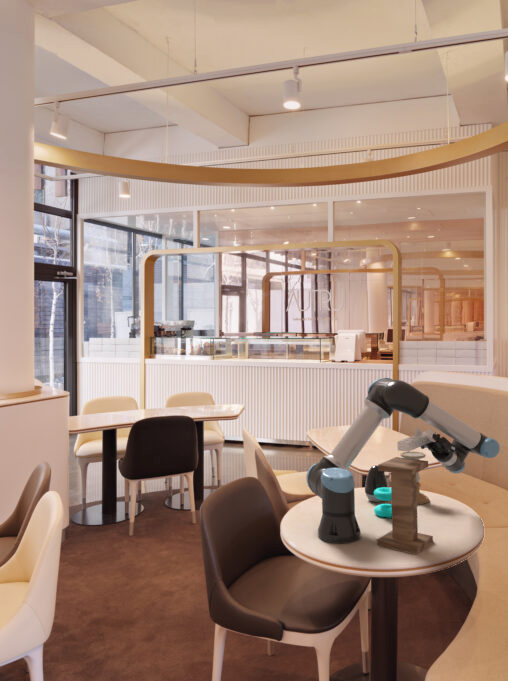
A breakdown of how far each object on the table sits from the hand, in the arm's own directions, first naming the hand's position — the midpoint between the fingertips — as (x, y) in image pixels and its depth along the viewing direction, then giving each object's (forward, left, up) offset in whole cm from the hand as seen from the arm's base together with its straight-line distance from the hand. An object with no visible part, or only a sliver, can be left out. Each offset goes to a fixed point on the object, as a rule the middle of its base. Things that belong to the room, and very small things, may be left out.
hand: (422, 431), depth 210 cm
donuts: (-2, +21, -37) cm, 42 cm away
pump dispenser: (+5, +39, -37) cm, 54 cm away
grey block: (-4, -2, -4) cm, 6 cm away
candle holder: (+19, +32, -37) cm, 52 cm away
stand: (-14, -8, -36) cm, 40 cm away
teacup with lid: (+13, +48, -37) cm, 62 cm away
